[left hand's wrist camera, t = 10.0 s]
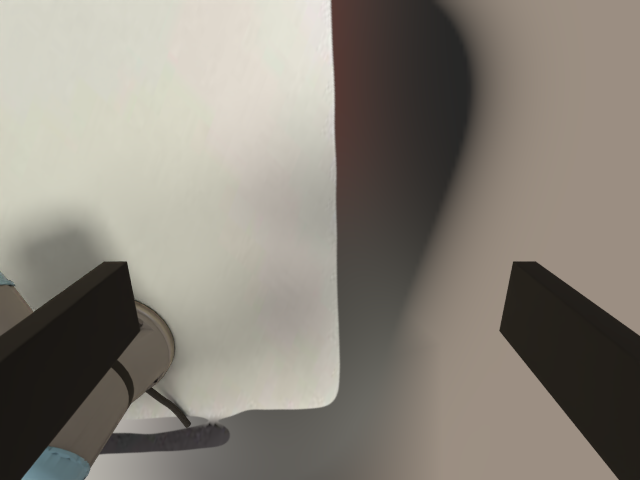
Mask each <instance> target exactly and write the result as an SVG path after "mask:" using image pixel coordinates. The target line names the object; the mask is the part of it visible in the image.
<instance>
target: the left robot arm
mask: <svg viewBox="0 0 640 480" xmlns="http://www.w3.org/2000/svg"><path fill="white" fill-rule="evenodd" d="M14 286H15V284H14V283H13V282H12V281H10V280H8V279H7V278H6V277H5V276H4V275H3V274H2V273H1V271H0V480H84V479H85V478H86V477H87V476H88V474H89V471H90V468H91V466H92V465H93V463H94V462H95V460H96V458H97V457H98V455H99V454H100V452H101V450H102V449H103V447H104V446H105V444H106V442H107V441H108V439H109V438H110V436H111V435H112V433H113V431H114V430H115V428H116V427H117V425H118V423H119V422H120V420H121V419H122V417H123V415H124V414H125V412H126V411H127V409H128V408H129V406H130V404H131V403H132V402H133V401H135V400H136V399H137V398H139V397H140V396H141V395H142V394H143V393H144V392H147V393H148V394H149V395H151V396H152V397H153V398H155V399H156V400H157V401H159V402H160V403H162V404H163V405H165V406H166V407H168V408H169V409H170V410H171V411H172V412H173V413H174V414H175V415H176V416H177V417H178V418H179V419H180V421H181V422H182V423H183V424H184V426H185V427H186V428H187V427H189V426H190V425H191V423H190V421H189V420H188V419H187V418H186V416H185V415H184V414H183V412H182V411H181V410H180V409H179V408H178V407H177V406H176V405H175V404H174V403H172V402H171V401H169V400H168V399H166V398H165V397H164V396H162V395H161V394H160V393H158V392H157V391H156V390H154V389H153V388H152V386H154V385H155V384H156V383H158V382H159V381H160V380H161V379H162V378H163V376H164V375H165V373H166V371H167V370H168V368H169V366H170V365H171V362H172V360H173V357H174V341H173V337H172V334H171V332H170V330H169V328H168V326H167V325H166V323H165V322H164V321H163V320H162V319H161V317H160V316H159V315H157V314H156V313H155V312H154V311H153V310H151V309H150V308H148V307H147V306H145V305H143V304H141V303H139V302H137V301H135V300H134V295H133V290H132V285H131V280H130V275H129V270H128V265H127V262H103V263H102V264H100V265H99V266H97V267H96V268H95V269H93V270H92V271H90V272H89V273H88V274H86V275H85V276H83V277H82V278H81V279H79V280H78V281H76V282H75V283H74V284H72V285H71V286H69V287H68V288H67V289H65V290H64V291H62V292H61V293H60V294H58V295H57V296H55V297H54V298H53V299H51V300H50V301H48V302H47V303H46V304H44V305H43V306H41V307H40V308H39V309H37V310H36V311H34V312H33V311H32V310H31V308H30V307H29V306H28V304H27V303H26V302H25V300H24V299H23V298H22V296H21V295H20V294H19V293H18V291H17V290H16V289H15V287H14ZM500 332H501V333H502V335H503V336H504V337H505V338H506V340H507V341H508V342H509V343H510V345H511V346H512V347H513V348H514V349H515V351H516V352H517V353H518V355H519V356H520V357H521V358H522V360H523V361H524V362H525V363H526V364H527V366H528V367H529V368H530V369H531V371H532V372H533V373H534V375H535V376H536V377H537V378H538V379H539V381H540V382H541V383H542V384H543V386H544V387H545V388H546V389H547V391H548V392H549V393H550V394H551V396H552V397H553V398H554V399H555V401H556V402H557V403H558V404H559V406H560V407H561V408H562V409H563V411H564V412H565V413H566V414H567V416H568V417H569V418H570V419H571V421H572V422H573V423H574V424H575V426H576V427H577V428H578V429H579V430H580V432H581V433H582V434H583V436H584V437H585V438H586V439H587V441H588V442H589V443H590V444H591V446H592V447H593V448H594V449H595V451H596V452H597V453H598V454H599V455H600V457H601V458H602V459H603V460H604V462H605V463H606V464H607V465H608V467H609V468H610V469H611V470H612V472H613V473H614V474H615V475H616V477H617V478H618V479H619V480H640V336H639V335H638V334H636V333H635V332H634V331H632V330H631V329H629V328H628V327H627V326H625V325H624V324H622V323H621V322H620V321H618V320H617V319H615V318H614V317H613V316H611V315H610V314H608V313H607V312H606V311H604V310H603V309H601V308H600V307H599V306H597V305H596V304H594V303H593V302H591V301H590V300H589V299H587V298H586V297H585V296H583V295H582V294H580V293H579V292H578V291H576V290H575V289H573V288H572V287H571V286H569V285H568V284H566V283H565V282H564V281H562V280H561V279H559V278H558V277H557V276H555V275H554V274H552V273H551V272H550V271H548V270H547V269H545V268H544V267H543V266H541V265H540V264H538V263H537V262H513V265H512V270H511V275H510V280H509V285H508V290H507V295H506V300H505V305H504V310H503V315H502V321H501V326H500Z"/></svg>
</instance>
